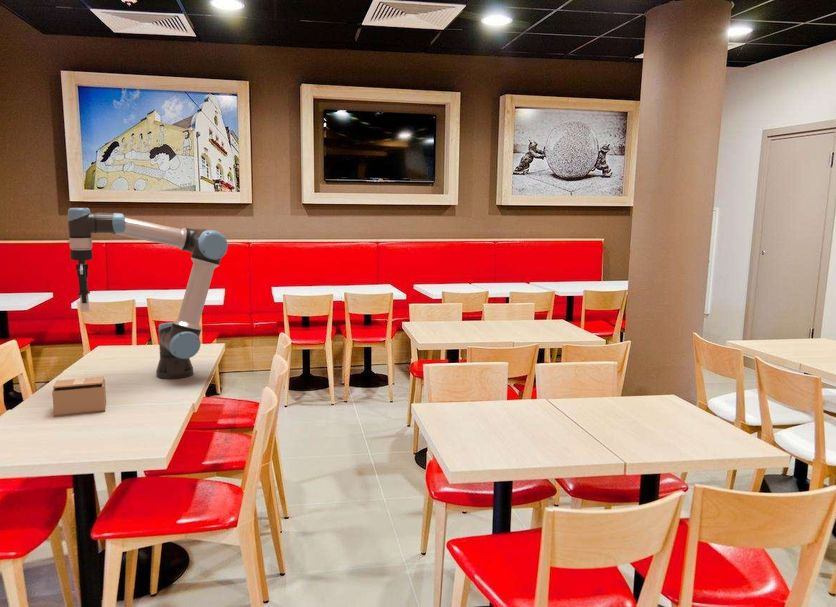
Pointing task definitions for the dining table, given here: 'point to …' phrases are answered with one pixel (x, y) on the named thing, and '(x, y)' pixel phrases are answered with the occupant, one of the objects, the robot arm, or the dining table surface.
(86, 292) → the robot arm
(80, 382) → the lid
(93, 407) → the carton
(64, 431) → the dining table surface
